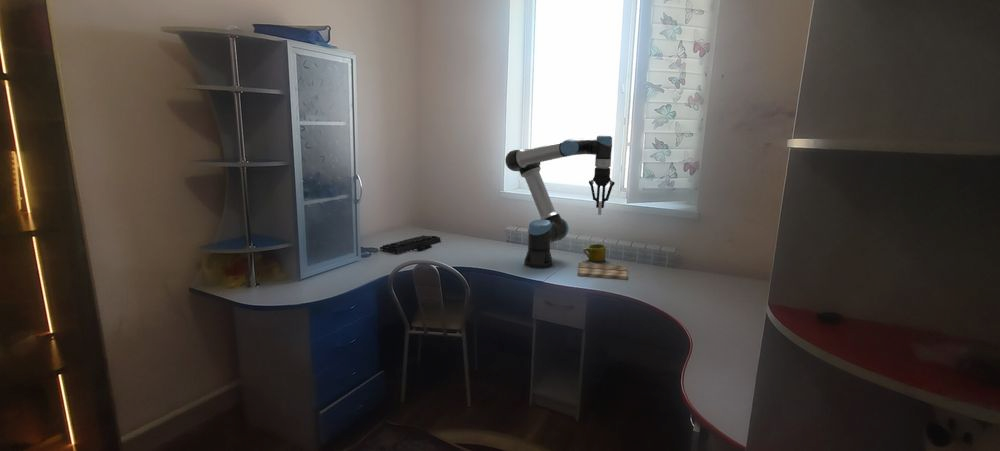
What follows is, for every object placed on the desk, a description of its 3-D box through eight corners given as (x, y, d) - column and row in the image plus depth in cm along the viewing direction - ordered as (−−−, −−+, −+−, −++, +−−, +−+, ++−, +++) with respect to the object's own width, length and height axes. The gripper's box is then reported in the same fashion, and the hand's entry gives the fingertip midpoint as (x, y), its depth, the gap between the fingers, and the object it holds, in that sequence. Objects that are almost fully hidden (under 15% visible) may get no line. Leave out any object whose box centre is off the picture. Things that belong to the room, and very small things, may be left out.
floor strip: (577, 275, 237) (577, 272, 237) (578, 270, 246) (578, 267, 245) (627, 279, 233) (627, 276, 232) (626, 273, 242) (626, 270, 241)
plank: (578, 269, 246) (578, 266, 246) (578, 265, 253) (578, 262, 253) (625, 273, 242) (626, 270, 242) (625, 268, 249) (625, 265, 249)
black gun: (422, 238, 306) (422, 231, 305) (448, 244, 294) (448, 236, 293) (378, 250, 276) (378, 243, 275) (405, 257, 264) (405, 249, 263)
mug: (606, 254, 270) (604, 239, 265) (608, 264, 261) (605, 249, 256) (584, 256, 272) (582, 242, 267) (585, 267, 263) (583, 252, 258)
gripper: (589, 167, 233) (586, 215, 238) (616, 168, 231) (613, 216, 236) (589, 166, 240) (586, 212, 245) (615, 167, 238) (612, 213, 243)
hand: (599, 214), depth 241 cm, fingers closed
